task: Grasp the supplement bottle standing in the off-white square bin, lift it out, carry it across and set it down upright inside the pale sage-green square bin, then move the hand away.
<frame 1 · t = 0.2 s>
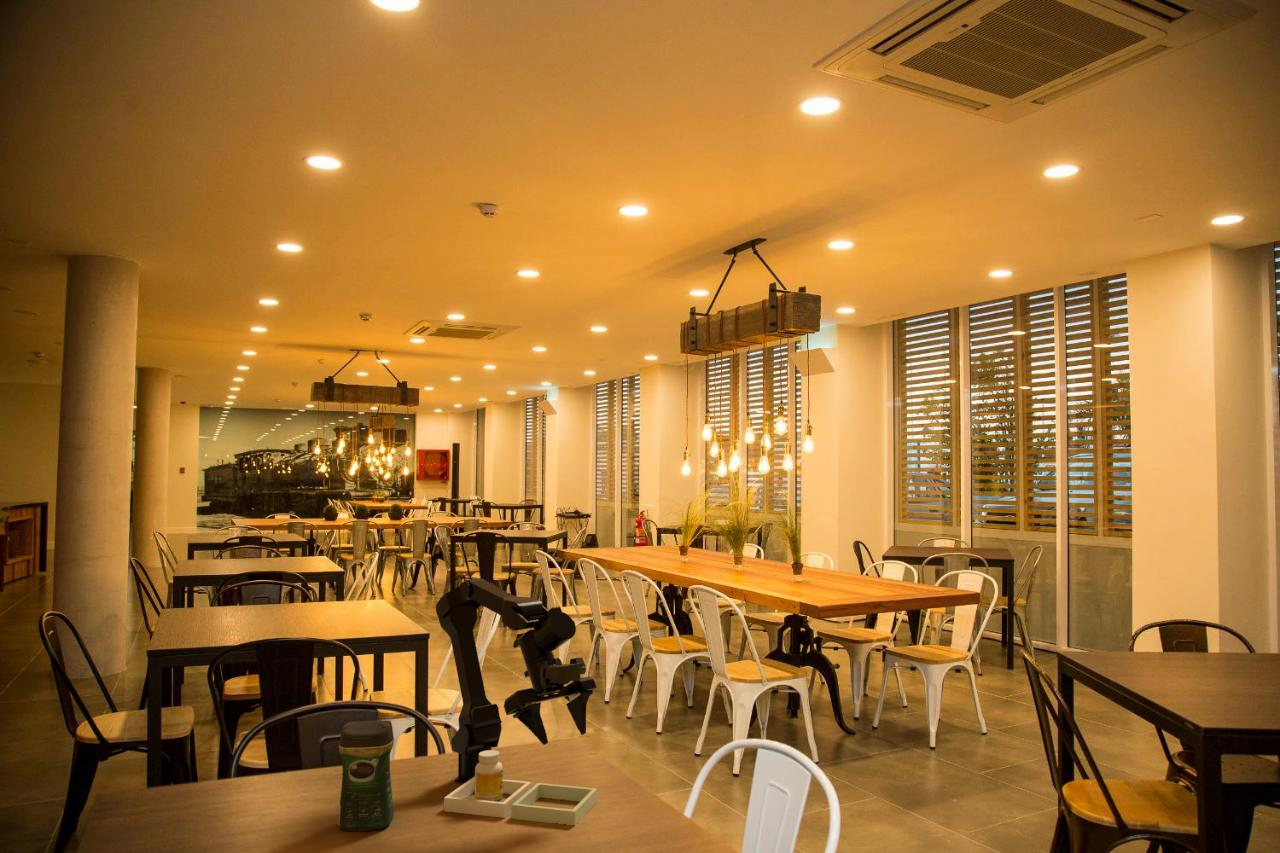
hand: (565, 738, 168), 14 cm above the table, tool tilted 30°, fingers open, 9 cm apart
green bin: (555, 809, 171), on the table
supplement bottle: (488, 804, 175), resting in white bin
coffee jar: (365, 825, 164), on the table
white bin: (488, 802, 175), on the table
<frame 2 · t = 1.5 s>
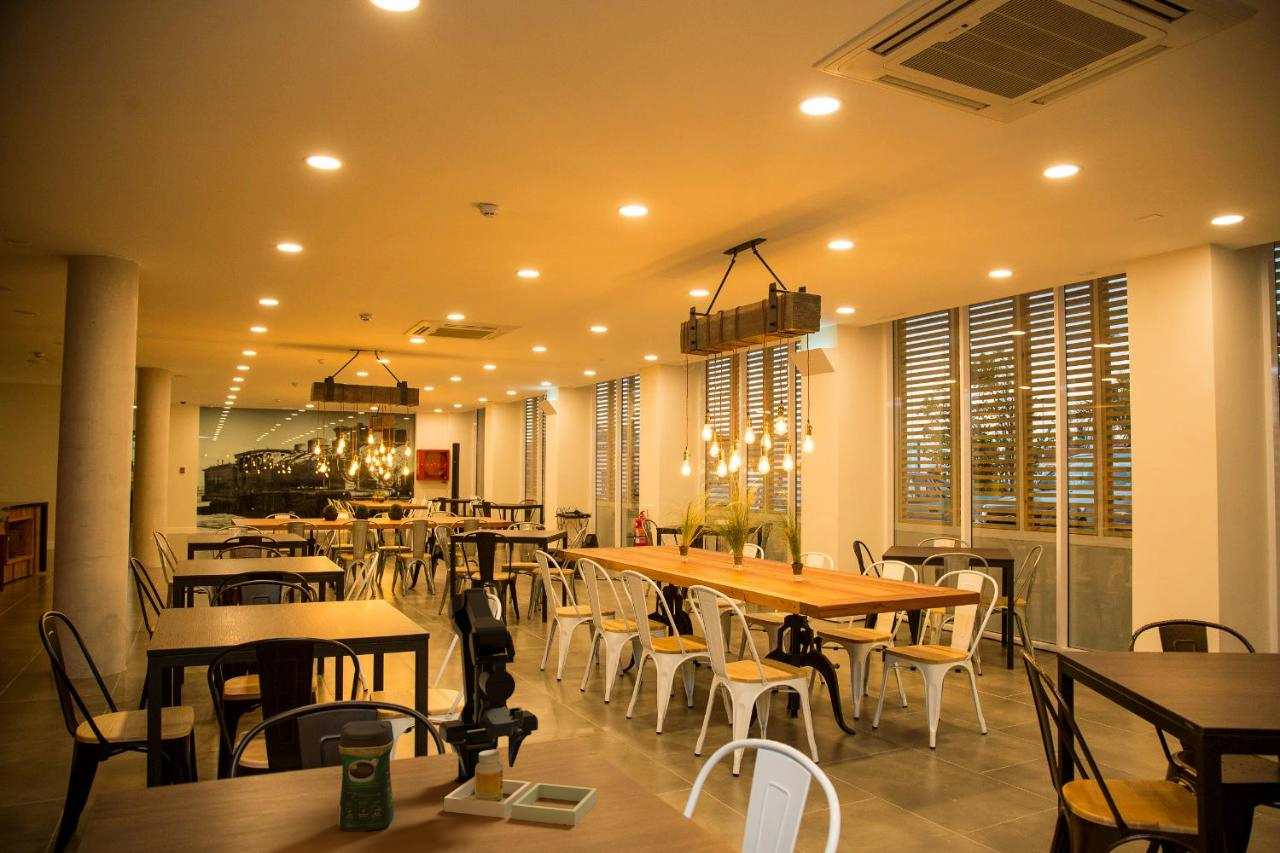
hand: (488, 770, 175), 6 cm above the table, tool pointing down, fingers open, 9 cm apart
nothing on the table moved.
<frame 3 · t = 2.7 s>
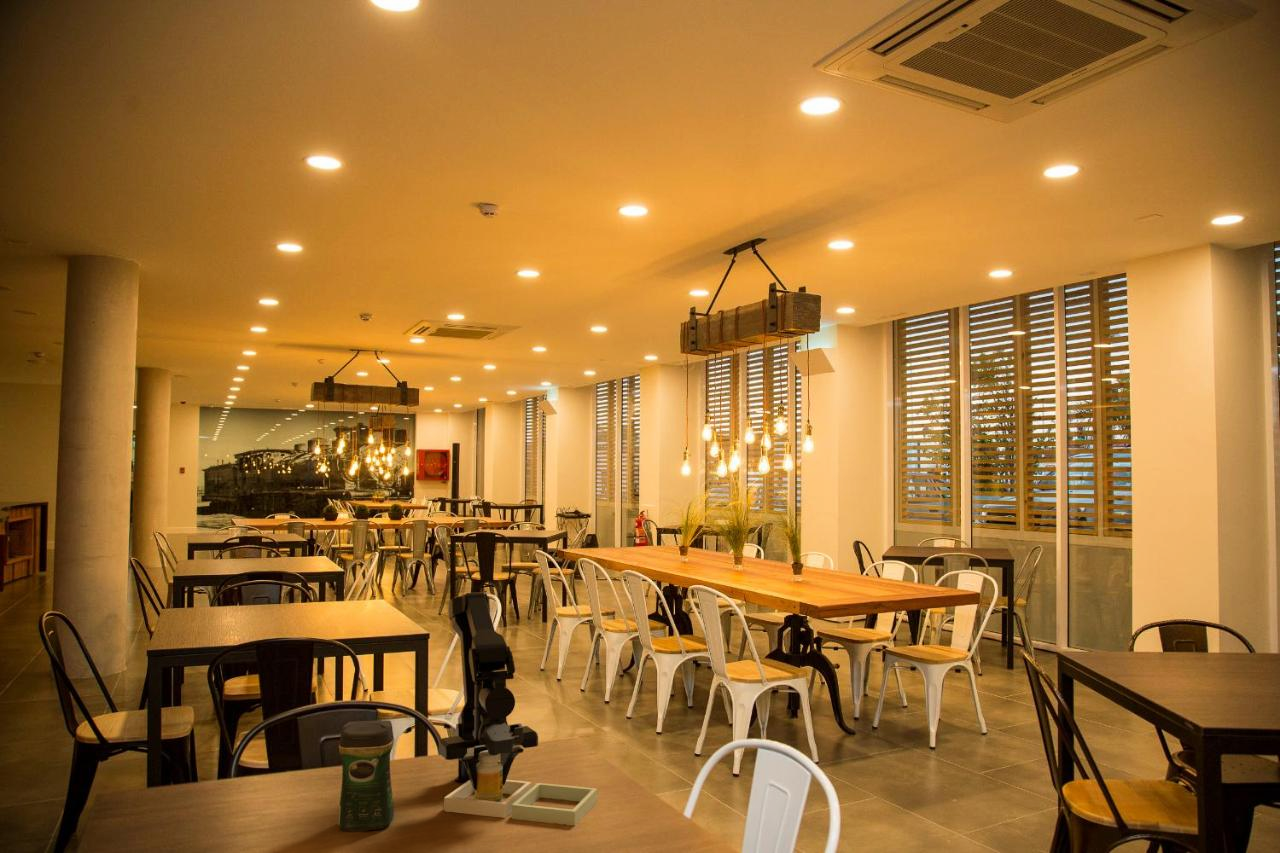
hand: (488, 787, 175), 3 cm above the table, tool pointing down, fingers closed on supplement bottle, 5 cm apart
supplement bottle: (488, 803, 175), resting in white bin, touching gripper
everything else where it was.
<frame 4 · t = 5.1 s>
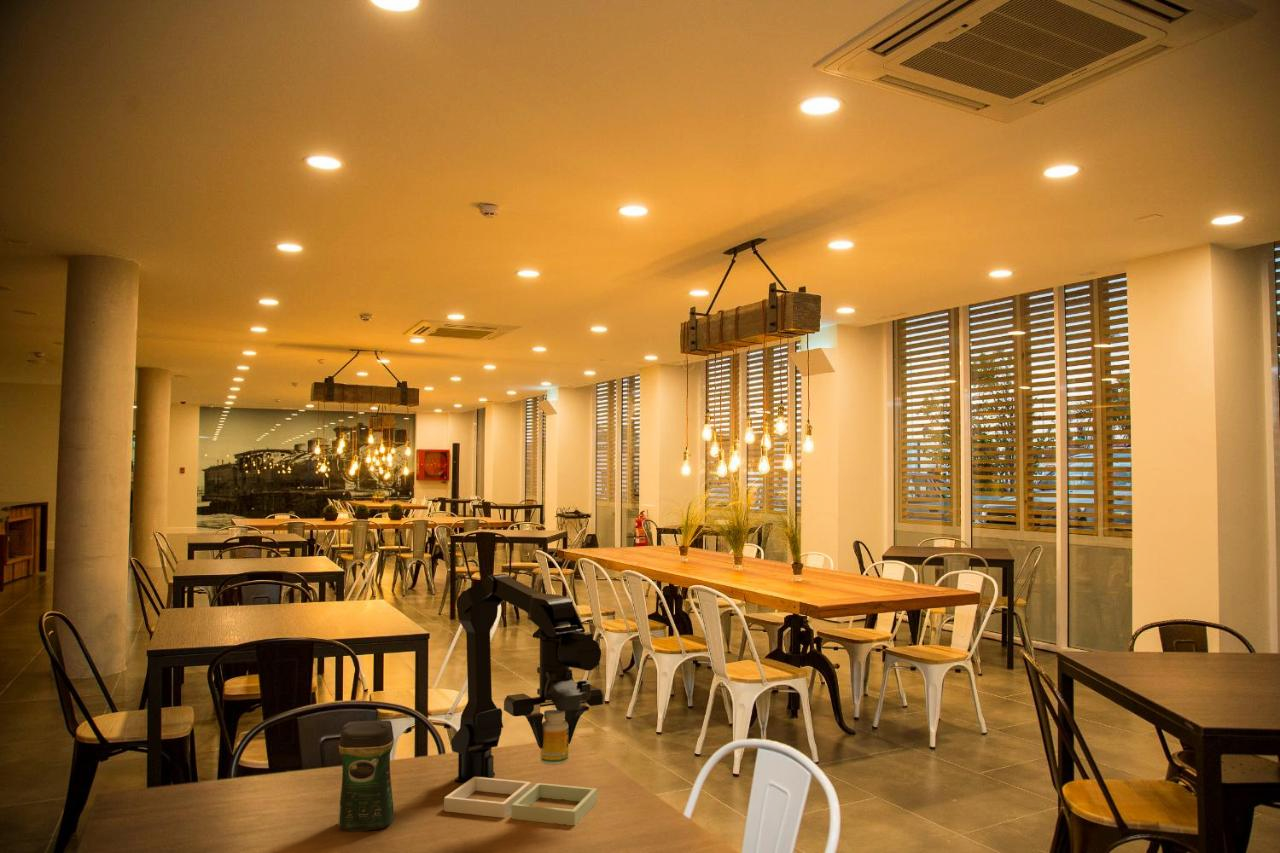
hand: (554, 745, 171), 12 cm above the table, tool pointing down, fingers closed on supplement bottle, 5 cm apart
supplement bottle: (554, 762, 171), point 9 cm above the table, touching gripper
everything else where it was.
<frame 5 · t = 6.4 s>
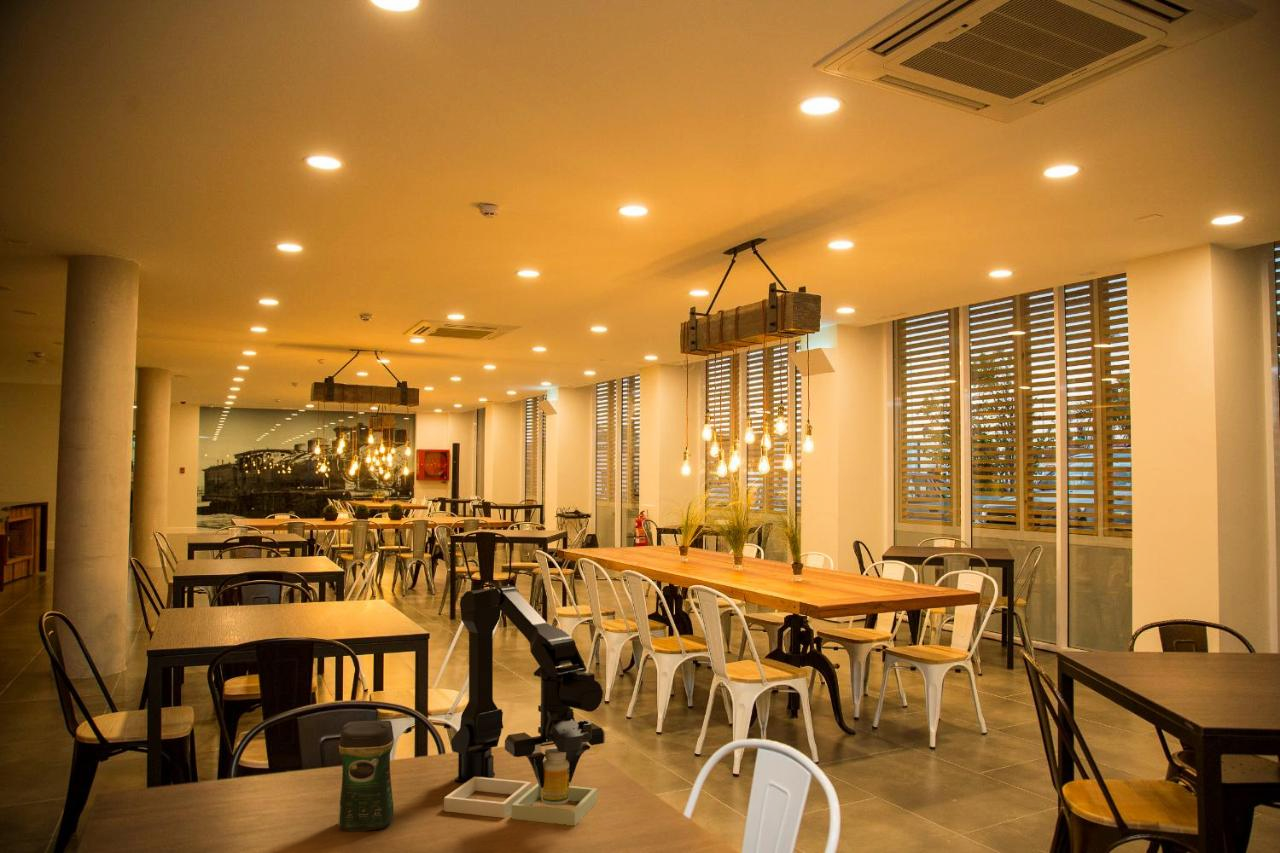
hand: (555, 784, 171), 5 cm above the table, tool pointing down, fingers closed on supplement bottle, 5 cm apart
supplement bottle: (555, 801, 171), point 1 cm above the table, touching gripper
everything else where it was.
when the fingers open (4 cm above the table, at t = 7.4 s): supplement bottle stays where it is, resting in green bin.
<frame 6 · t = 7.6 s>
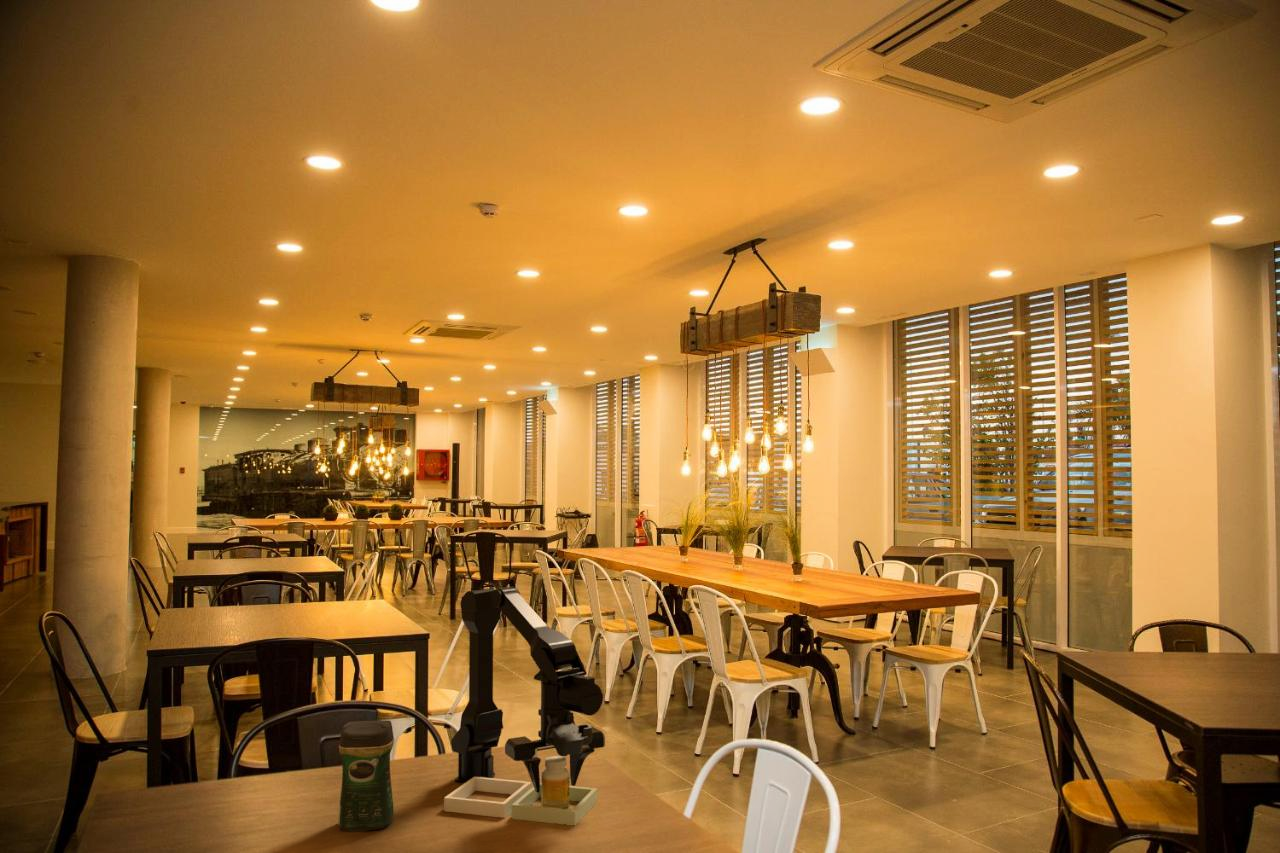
hand: (555, 788, 171), 4 cm above the table, tool pointing down, fingers open, 7 cm apart
supplement bottle: (555, 811, 171), resting in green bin
everything else where it was.
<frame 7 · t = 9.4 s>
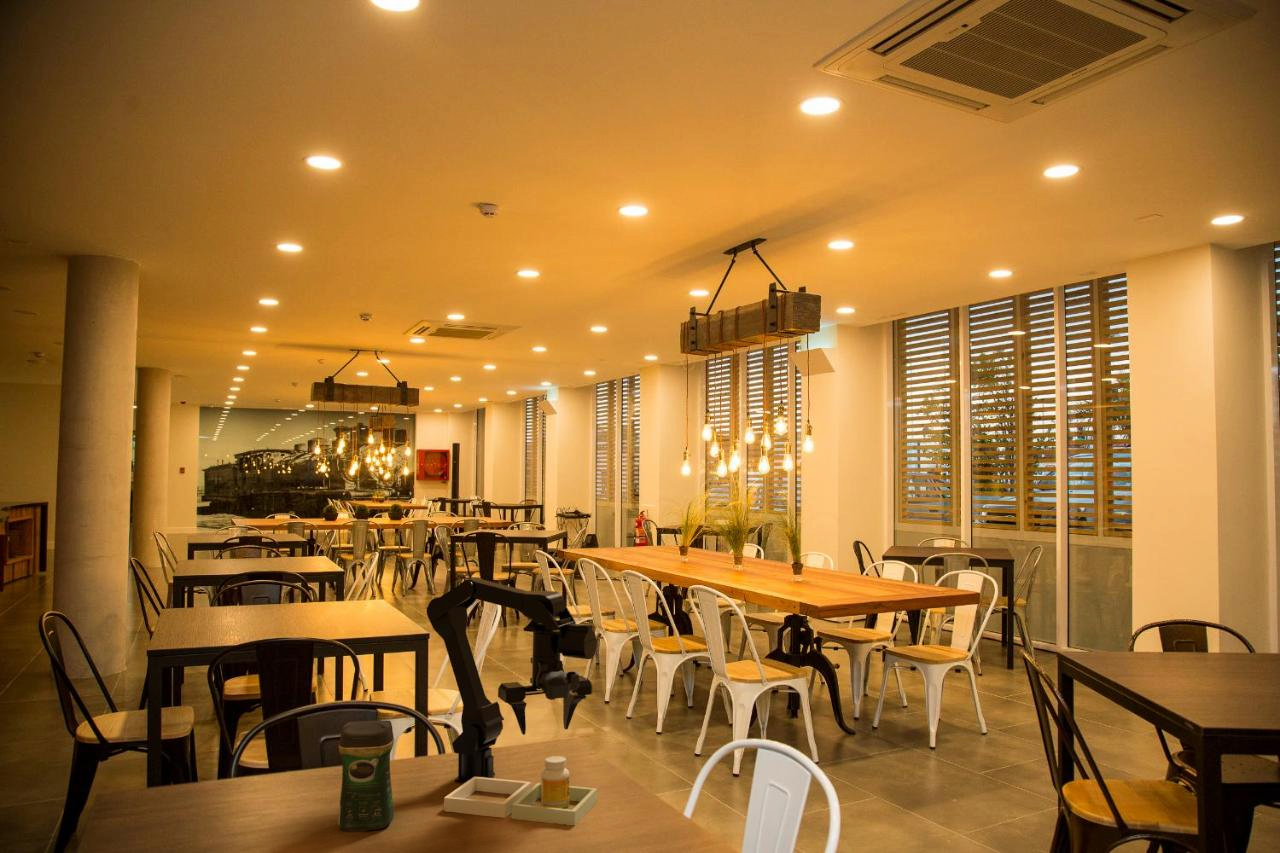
hand: (544, 731, 182), 12 cm above the table, tool pointing down, fingers open, 9 cm apart
nothing on the table moved.
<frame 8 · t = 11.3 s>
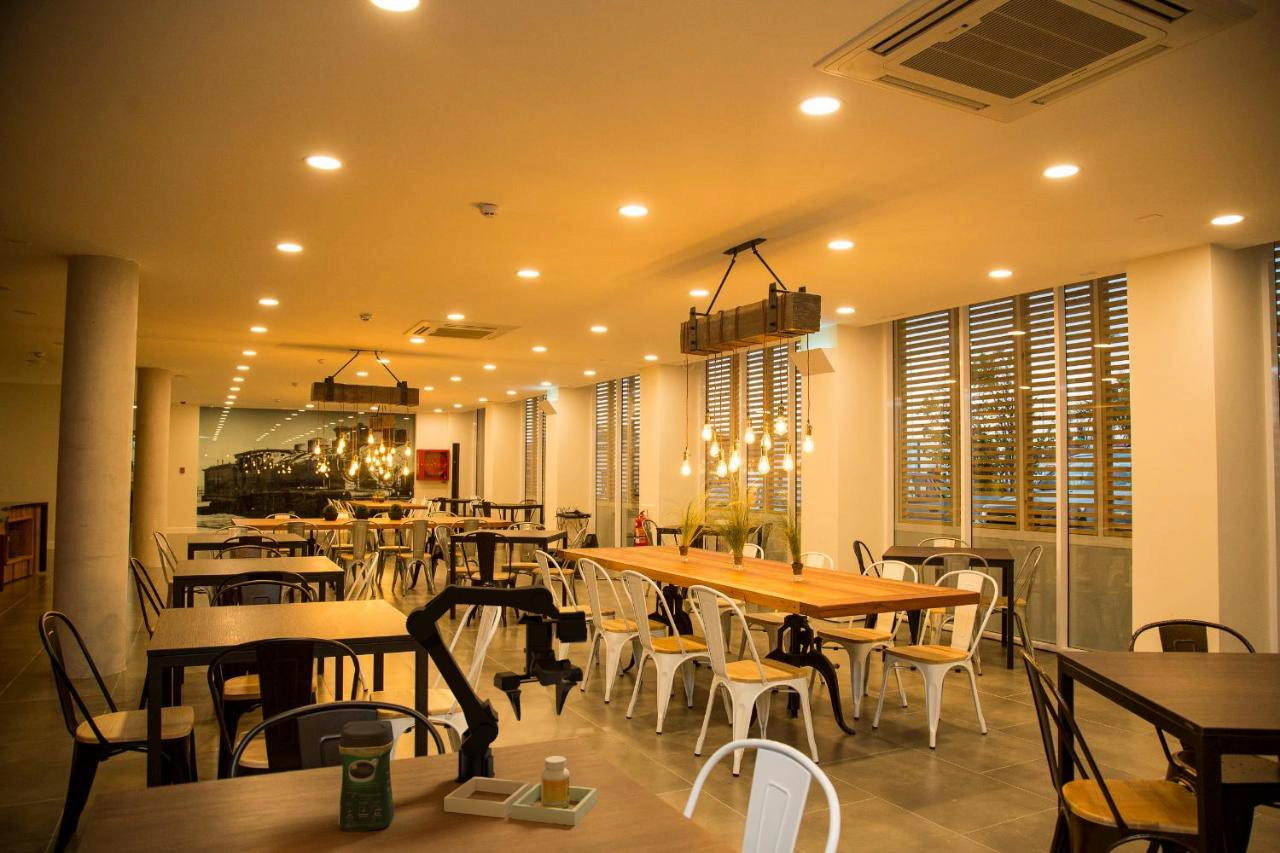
hand: (538, 717, 192), 12 cm above the table, tool pointing down, fingers open, 9 cm apart
nothing on the table moved.
at the end: supplement bottle inside the target area on the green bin (0.0 cm from its centre), point 0.0 cm above the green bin's base; supplement bottle tilted 0°; the gripper is holding nothing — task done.
